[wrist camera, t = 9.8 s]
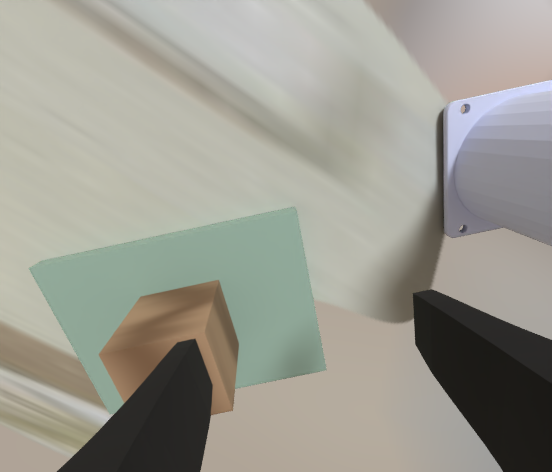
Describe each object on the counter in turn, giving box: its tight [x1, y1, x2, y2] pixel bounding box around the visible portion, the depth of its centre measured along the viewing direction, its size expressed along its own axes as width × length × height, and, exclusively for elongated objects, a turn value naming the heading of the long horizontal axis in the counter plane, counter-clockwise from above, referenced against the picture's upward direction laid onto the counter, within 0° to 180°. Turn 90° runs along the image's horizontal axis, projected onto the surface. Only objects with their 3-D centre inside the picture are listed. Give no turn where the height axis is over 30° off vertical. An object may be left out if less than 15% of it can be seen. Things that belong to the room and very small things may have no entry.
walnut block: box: [99, 280, 239, 415], centre depth 17 cm, size 5×5×5 cm
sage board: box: [29, 207, 326, 414], centre depth 19 cm, size 16×12×1 cm
